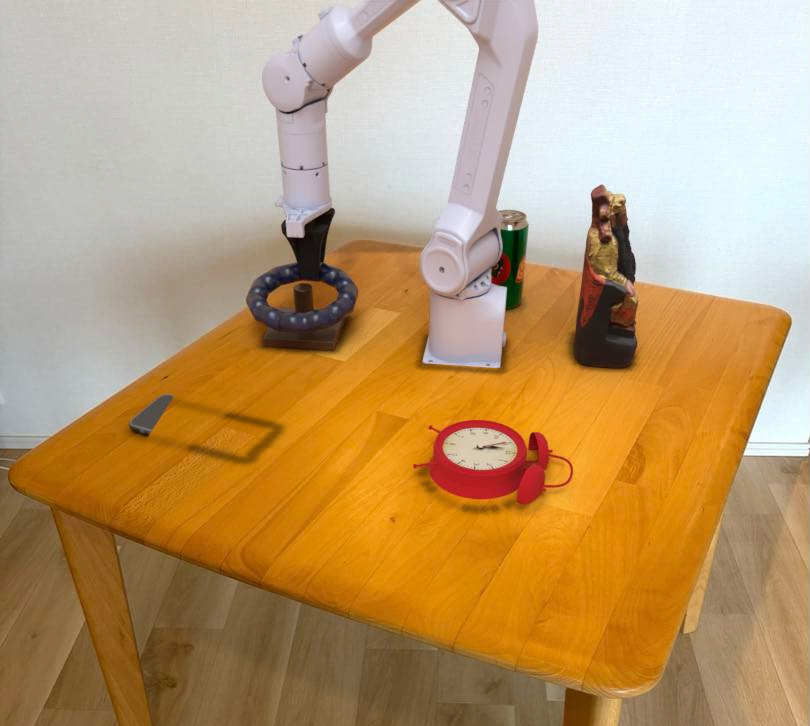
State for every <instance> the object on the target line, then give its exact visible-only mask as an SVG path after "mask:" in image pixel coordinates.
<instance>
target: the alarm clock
mask: <svg viewBox="0 0 810 726" xmlns="http://www.w3.org/2000/svg"><path fill="white" fill-rule="evenodd" d="M427 428H428V430H430V431H431V430H432V431H434V432H436V433H437V435H436V437H435V440H434V441H433V445H432V450H433V451H432V453H433V455H432V457H431V459H430V460H429V462H425V463H420V464H417V463H414V464H413V465H412V467H413V469H417V468H420V467H428V472H429V476H430V478H431V480H432V481H433V482H434V484H436V485H437V486H438V487H439V488H440V489H442V490H443V491H445V492H447V493H449V494H452V495H454V496H457V497H459V498H464V499H470V500H493V499H498V498H502V497H503V498H504V497H506V496H509V495H511V494H513V493H514V492H516V491H517V493H516V494H517V495H516V502H517V503H518V504H523V505H528V504H531V503H533V502H534V501H536V500H537V499H538V498H539V497H540V495H541V494H542V493H543V492H547V489H548V488H549V489H551V488H552V489H553V488H562V487H565V486H566V485H568V484H569V483H570V482H571V481H572V479H573V475H574V466H573V464H572V462H571V461H570V460H569V459H567V458H566V457H564V456H561V455H556V454H553V453H554V450H553V449H550V448H549V444H548V440H547V438H546V437H545V435H544V434H543V433H541V432H538V431H532V432H531V433H530V434H529V437H528V444H526V442H525V439H524V438H523V436H522V435H521V434H520V433H519V432H518V431H516V430H515V429H514V428H512V427H510V426H509V425H506V424H504V423H500V422H496V421H492V420H487V419H468V420H462V421H458V422H454V423H452V424H449V425H447V426H446V427H444V428H443V429H441V430H439V429H437V428H435V427H434V426H433V425H431V424H430V425H428V427H427ZM527 445H528V446H527ZM527 447H528V448H527ZM528 451H537V452H538V459H537V460H527V456H528ZM550 458H555V459H559V460H562V461H564V462H566V463H567V464H568V466H569V468H570V474H569V477H568V479H567V480H566V481H565V482H563V483H559V484H545V483H546V473H545V470H546V469H547V468H548V465H549V461H550ZM527 464H528V465H529V464H531V465H529V467H528V465H527ZM546 488H547V489H546Z"/></svg>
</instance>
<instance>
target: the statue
mask: <svg viewBox="0 0 810 726" xmlns="http://www.w3.org/2000/svg"><path fill="white" fill-rule="evenodd" d="M590 200H591V222H590V223H591V224H590V227H589V228H588V230H587V234H586V240H585V250H584V256H583V266H582V275H581V283H580V284H581V285H580V289H579V290H580V291H579V298H578V304H577V312H576V319H575V332H574V338H573V355H574V359H575V360H576V361H577V362H578V363H579V364H581V365H584V366H588V367H597V368H598V367H600V368H612V369H613V368H614V369H623V368H626V367H630V366H631V364H632V362H633V360H634V357H635V355H636V351H637V348H638V339H637V336H636V332H637V331H636V325H637V321H636V318H637V317H636V316H637V311H638V306H639V294H638V292H637V290H636V288H635V282H636V276H635V275H636V272H637V271H636V270H637V262H636V258H635V253H634V252H633V250H632V246H631V241H630V232H631V230H630V228H629V224H628V221H629V218H628V211H627V207H626V203H627V199H626V196H625V194H623V193H613V192H612V191H611V190H608V189H607V188H606V186H605V185H604V184H599V185H597V186H595V187H594V188H593V189H592V190H591V192H590Z"/></svg>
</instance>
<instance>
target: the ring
mask: <svg viewBox="0 0 810 726" xmlns="http://www.w3.org/2000/svg"><path fill="white" fill-rule="evenodd" d="M297 282H317V283H323V284H325V285H328V286H329V287H332V288H334V289H335V291H336V292H337V297H336V299H335V300H334V301H332V302H331V303H329V304H328V305H326V306H325V307H322V308H317V309H318V310H314V311H310V312H306V313H296V312H282V311H280V310H279V308H276V307H274V306H271V305H270V304H269V302H268V298H269V296H270V294H271V293H273V292H274V291H276V290H277V289H278V288H281V287H282V286H285V285H290V284H293V283H297ZM358 296H359V289H358V287H357V285H356V283H355V282H354V280H353V279H352V278H351V276H350V275H349V273H348V272H347V271H345V270H343V269H340V268H339V267H336V266H334V265H331V264H329V263H326V262H324V263H320V269H319V274H318V277H317V278H311V277H302V275H301V273H300V270H299V267H298V264H297V261H294V262H290V263H286V264H282V265H277V266H273V267H272V268H270V269H269V270H267V271H265V272H264V273H263V274H261V275H259V276H258V277H256V278H255V279H254V280H253V282H252V283H251V286H250V288H249V290H248V292H247V295H246V297H245V303H246V305H247V308H248V309H249V311H250V313H251V315H252V317H253V318H254V320H255V321H256V322H257V323H259V324H261V325H263V326H265V327H268V328H269V327H270V328H272V329H274V330H276V331H279V332H292V333H310V332H314V331H318V330H322V329H325V328H329V327H333V326H334V325H336V324H337V323H339V322H340V321H341V320H343V319H344V318H345V317H349V315H351V314H352V313H353V312H354V310H355V307H356V303H357V299H358Z"/></svg>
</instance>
